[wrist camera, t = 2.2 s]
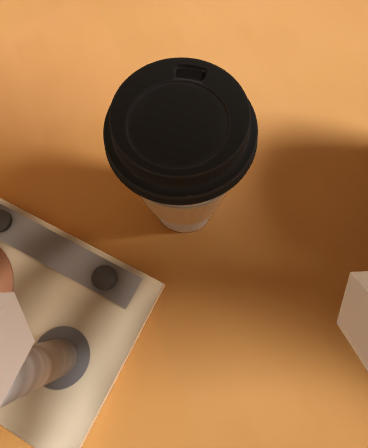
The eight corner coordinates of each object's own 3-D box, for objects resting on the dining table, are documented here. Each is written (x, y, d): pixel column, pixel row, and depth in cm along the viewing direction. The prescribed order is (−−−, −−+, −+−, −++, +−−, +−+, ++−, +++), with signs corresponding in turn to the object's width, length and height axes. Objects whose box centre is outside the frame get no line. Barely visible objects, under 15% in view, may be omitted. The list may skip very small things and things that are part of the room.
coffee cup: (213, 158, 32) (234, 31, 17) (241, 237, 29) (292, 165, 15) (131, 179, 31) (81, 66, 17) (151, 262, 28) (112, 212, 14)
